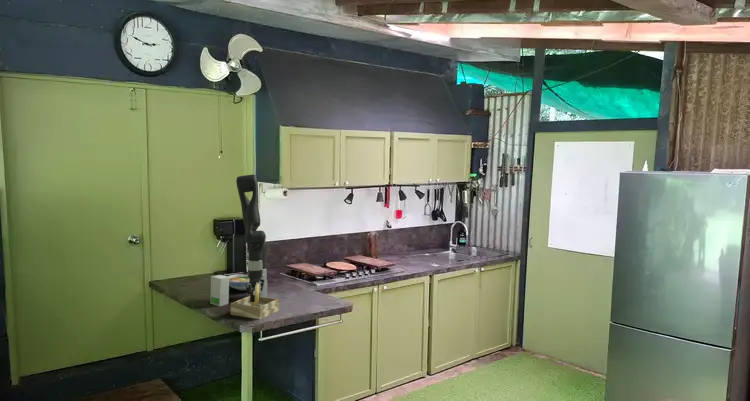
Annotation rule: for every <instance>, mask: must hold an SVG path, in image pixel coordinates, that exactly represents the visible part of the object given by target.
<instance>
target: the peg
mask: <svg viewBox="0 0 750 401" xmlns="http://www.w3.org/2000/svg"><path fill="white" fill-rule="evenodd" d="M251 288H252V287H251ZM252 289H254V288H252ZM252 292H253V290H252ZM254 295H255V302H251V306H257V307H258V306H259V283H258V284H257V287H256V291H255V294H254Z"/></svg>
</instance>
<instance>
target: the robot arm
mask: <svg viewBox="0 0 750 401" xmlns="http://www.w3.org/2000/svg"><path fill="white" fill-rule="evenodd" d="M235 182H236V188H237V193H238V197H239V201H240V205H241V212H242V213H241V214H242V220H243V224H244V229H245V230H244V231H245V236H244V241H245V243H246V248H247V250H246V251H247V253H248V256H247V258H248V262H247V274H248V278H249V279H250V281H249V283H248V284H246V292H247V295H249V296H250V301H251V302H255V295H254V294H255V291H256V287H257V284H258V283H259V300H260V297H267V298H268V280H267V276H268V275H267V269H268V268H267V267H268V252H269V251H268V249H269V248H268V243H267V241H266V238H267V236H266V232H265V231H264V230H258V228H259V227H260V226H261V215H260V211H259V202H260V201H259V199H260V198H259V183H258V178H257V175H256V174H245V175H239V176H237V177H236V181H235ZM250 192H251V193H252V194H251V199H250V200H249V198H248V197H247V195H246V193H250ZM251 287H252V288H254V289H252V288H251ZM252 290H253V292H252Z"/></svg>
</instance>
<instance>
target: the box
mask: <svg viewBox="0 0 750 401" xmlns="http://www.w3.org/2000/svg"><path fill="white" fill-rule="evenodd" d="M280 301H281V300H280V298H274V297H268V296H267V297H260V300H259V306H258V307H257V306H251V301H250V295H249V296H245V297H243V298H241V299H238V300H236V301H234V302H230V315H232V316H238V317H244V318H248V319H249V318H251V319H256V320H261V319H263V318H266V317H268V316H270V315H272V314H275V313H277V312H279V311H280Z"/></svg>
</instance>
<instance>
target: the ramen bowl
mask: <svg viewBox="0 0 750 401" xmlns="http://www.w3.org/2000/svg"><path fill="white" fill-rule="evenodd" d="M227 277H229V287H231V288H232V289H235V290H237V291H244V292H245V291H246V292H247V290H246V284H248V283H249V281H250V279H249V278H248V273H241V272H236V273H235V274H230V275H227ZM267 278H269V276H268V275H267Z"/></svg>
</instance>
